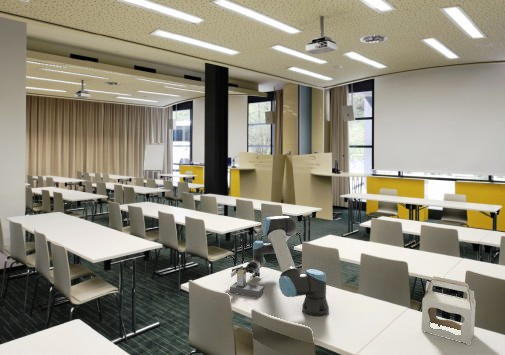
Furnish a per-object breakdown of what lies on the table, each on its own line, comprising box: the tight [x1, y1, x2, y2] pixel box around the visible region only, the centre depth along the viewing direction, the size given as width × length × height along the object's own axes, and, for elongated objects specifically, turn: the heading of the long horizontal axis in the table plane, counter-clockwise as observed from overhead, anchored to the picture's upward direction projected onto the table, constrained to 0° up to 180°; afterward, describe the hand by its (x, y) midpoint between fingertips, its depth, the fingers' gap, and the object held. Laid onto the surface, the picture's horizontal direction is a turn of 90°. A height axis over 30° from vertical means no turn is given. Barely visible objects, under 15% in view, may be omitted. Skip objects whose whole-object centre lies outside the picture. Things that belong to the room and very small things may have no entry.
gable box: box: [420, 276, 477, 345], centre depth 190 cm, size 22×13×28 cm, turn 52°
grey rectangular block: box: [229, 281, 265, 298], centre depth 243 cm, size 20×9×4 cm, turn 68°
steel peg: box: [236, 269, 247, 288], centre depth 244 cm, size 4×4×14 cm
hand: (240, 276), depth 244 cm, fingers open, 13 cm apart
